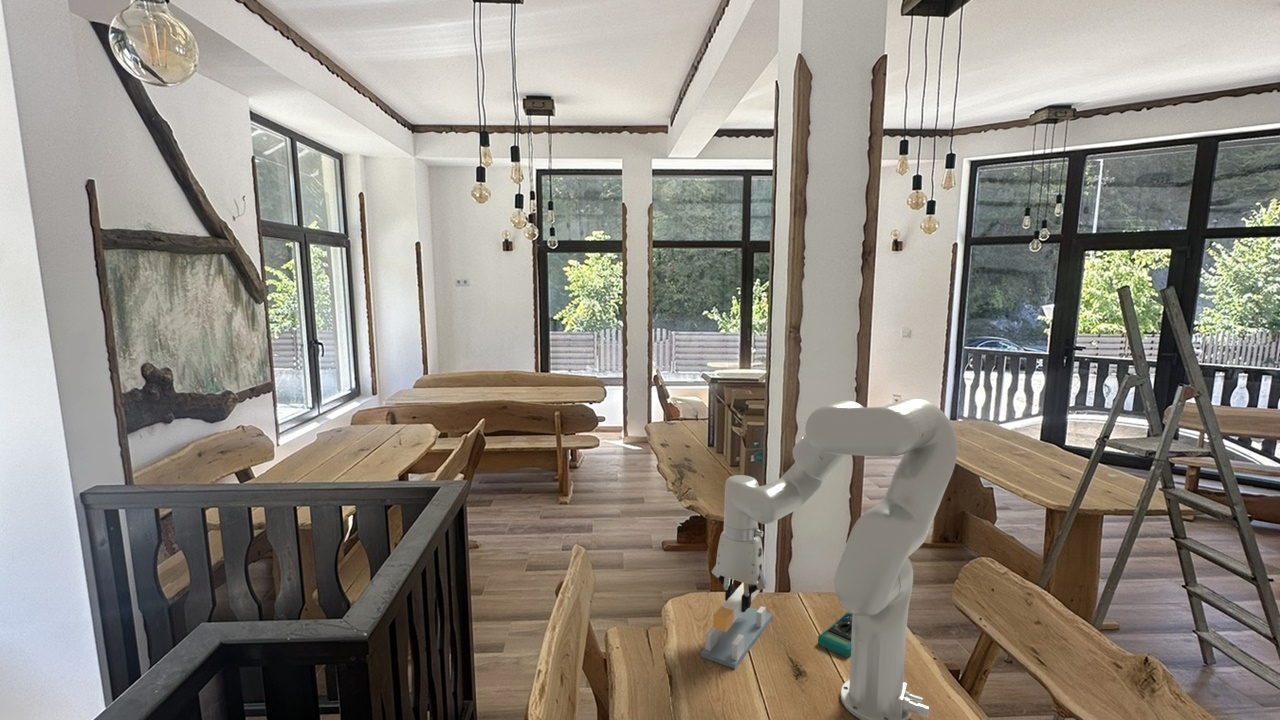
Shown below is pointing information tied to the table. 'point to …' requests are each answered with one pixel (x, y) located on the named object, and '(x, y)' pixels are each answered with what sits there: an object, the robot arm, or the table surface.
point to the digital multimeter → (838, 636)
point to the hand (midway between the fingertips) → (737, 606)
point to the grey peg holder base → (736, 637)
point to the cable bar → (730, 610)
